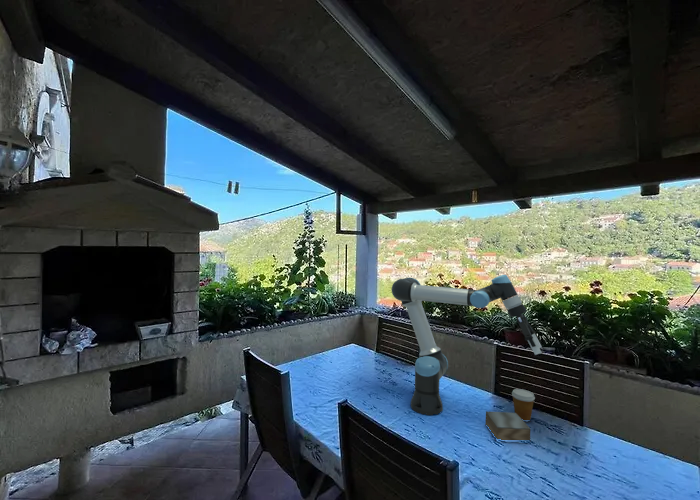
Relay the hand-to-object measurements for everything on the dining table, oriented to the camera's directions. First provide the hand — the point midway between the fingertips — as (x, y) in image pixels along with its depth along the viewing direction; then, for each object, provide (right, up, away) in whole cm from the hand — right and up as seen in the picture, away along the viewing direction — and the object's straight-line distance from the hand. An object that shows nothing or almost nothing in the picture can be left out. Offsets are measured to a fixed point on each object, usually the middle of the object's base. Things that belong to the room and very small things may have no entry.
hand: (538, 350), depth 146 cm
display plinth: (-18, -32, -9) cm, 38 cm away
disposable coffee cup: (-5, -33, +5) cm, 34 cm away
